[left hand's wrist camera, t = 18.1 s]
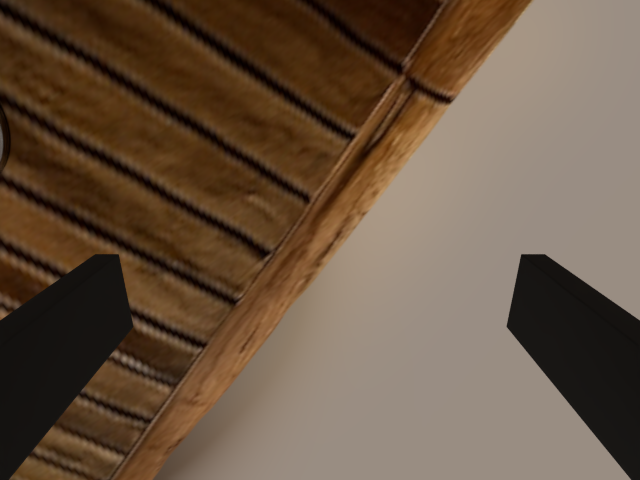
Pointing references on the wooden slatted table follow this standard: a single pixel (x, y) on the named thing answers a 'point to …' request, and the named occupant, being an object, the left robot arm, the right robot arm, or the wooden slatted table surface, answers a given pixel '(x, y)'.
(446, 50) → the wooden slatted table surface
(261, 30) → the wooden slatted table surface
